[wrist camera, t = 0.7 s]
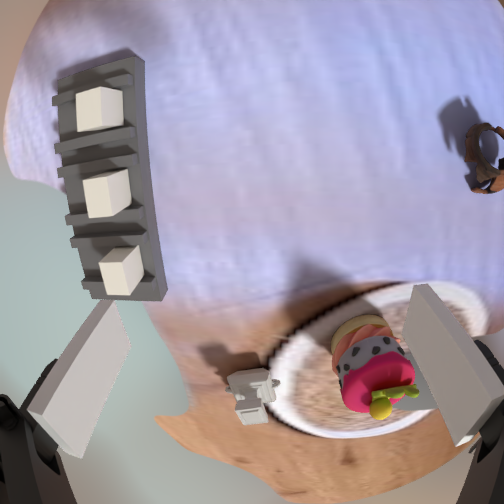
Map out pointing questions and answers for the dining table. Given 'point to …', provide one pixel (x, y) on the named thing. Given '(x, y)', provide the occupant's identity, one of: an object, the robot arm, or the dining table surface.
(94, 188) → the tab middle
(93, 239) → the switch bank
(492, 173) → the brown broken ring
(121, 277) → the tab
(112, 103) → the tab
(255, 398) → the grey angular blocky piece
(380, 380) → the cake
